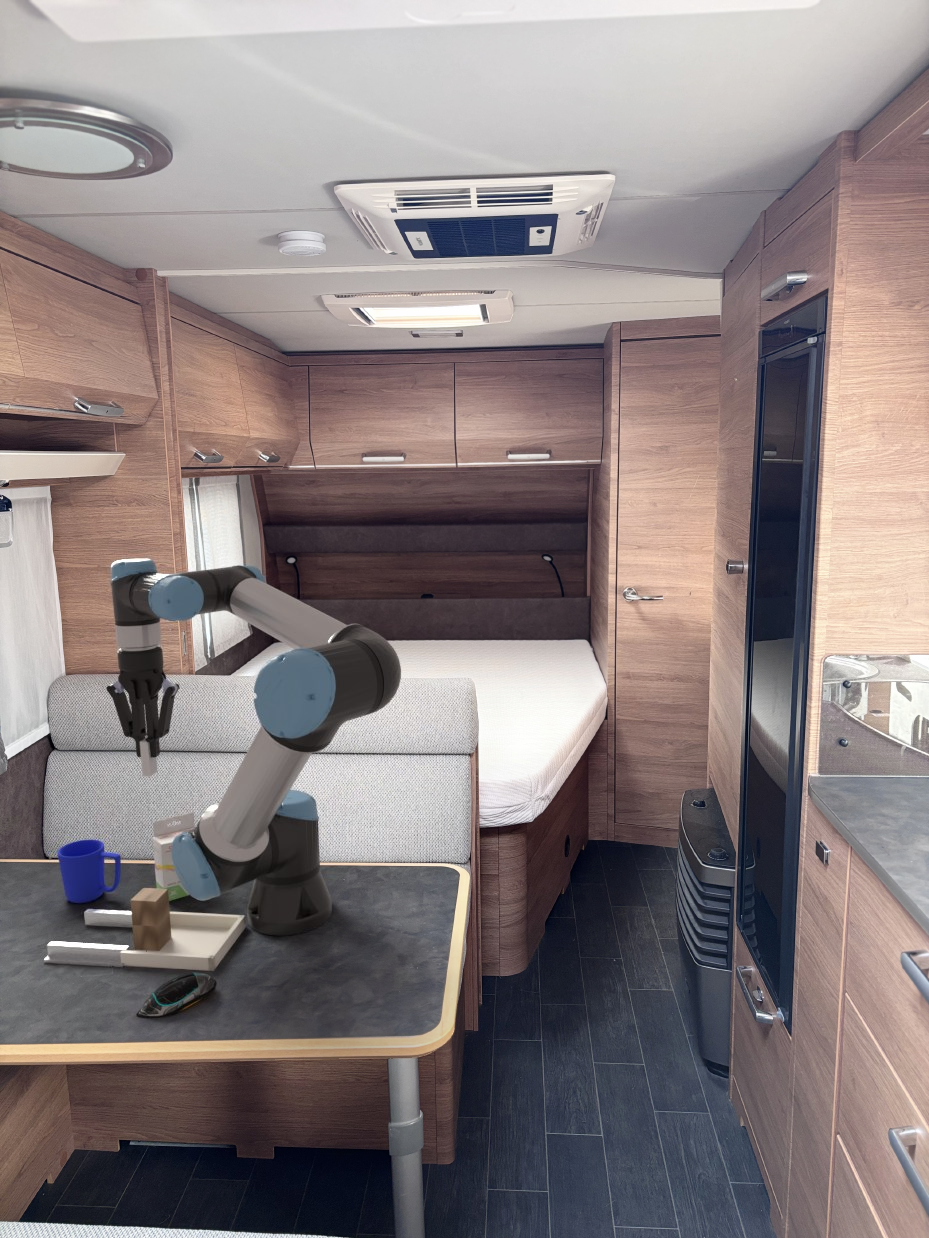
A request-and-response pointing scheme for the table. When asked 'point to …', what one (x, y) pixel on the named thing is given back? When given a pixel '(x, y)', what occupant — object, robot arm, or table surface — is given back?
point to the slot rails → (92, 952)
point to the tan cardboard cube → (152, 935)
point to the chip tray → (191, 942)
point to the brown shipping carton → (150, 907)
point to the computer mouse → (177, 995)
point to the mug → (86, 870)
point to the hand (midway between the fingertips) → (150, 773)
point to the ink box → (169, 853)
